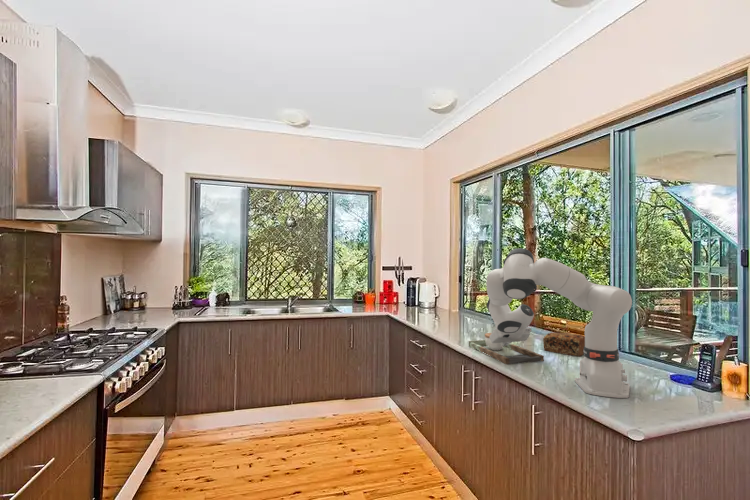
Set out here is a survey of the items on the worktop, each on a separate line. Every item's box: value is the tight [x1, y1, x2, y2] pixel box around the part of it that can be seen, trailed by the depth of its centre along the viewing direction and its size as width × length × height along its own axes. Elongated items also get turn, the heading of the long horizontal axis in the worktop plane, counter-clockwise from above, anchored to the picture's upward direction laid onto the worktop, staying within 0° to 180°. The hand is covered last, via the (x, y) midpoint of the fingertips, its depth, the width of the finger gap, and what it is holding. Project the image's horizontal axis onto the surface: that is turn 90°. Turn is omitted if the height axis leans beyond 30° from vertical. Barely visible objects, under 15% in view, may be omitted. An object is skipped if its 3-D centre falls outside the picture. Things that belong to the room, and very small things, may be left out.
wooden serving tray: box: [468, 339, 545, 365], centre depth 204 cm, size 38×20×3 cm, turn 14°
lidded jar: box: [484, 332, 504, 351], centre depth 213 cm, size 11×11×9 cm
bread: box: [542, 332, 585, 357], centre depth 205 cm, size 19×11×10 cm, turn 40°
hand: (504, 344), depth 204 cm, fingers closed
